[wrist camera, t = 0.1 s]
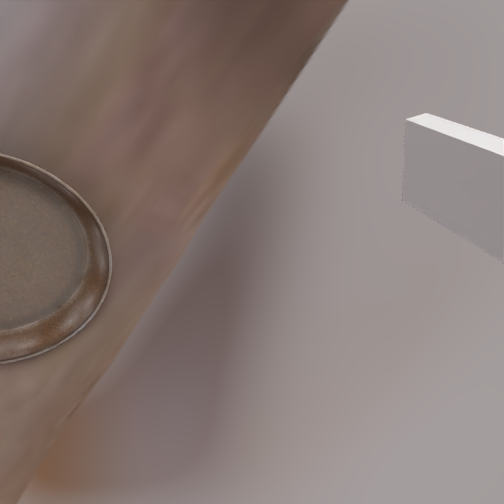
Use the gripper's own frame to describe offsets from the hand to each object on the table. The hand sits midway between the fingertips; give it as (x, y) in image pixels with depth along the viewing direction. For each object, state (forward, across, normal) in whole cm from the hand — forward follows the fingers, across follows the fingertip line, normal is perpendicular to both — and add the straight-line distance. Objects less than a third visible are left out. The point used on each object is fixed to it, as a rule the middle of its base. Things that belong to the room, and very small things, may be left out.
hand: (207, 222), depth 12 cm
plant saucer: (+28, -15, -12) cm, 34 cm away
